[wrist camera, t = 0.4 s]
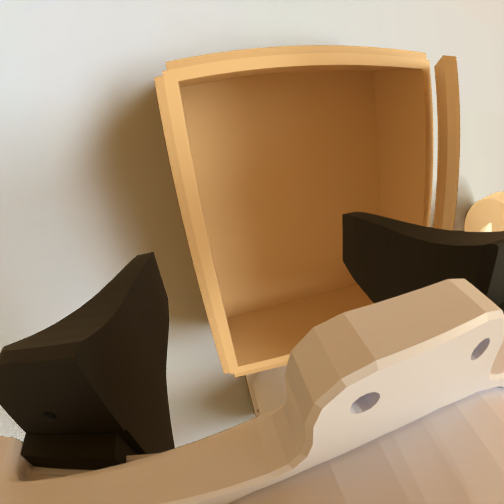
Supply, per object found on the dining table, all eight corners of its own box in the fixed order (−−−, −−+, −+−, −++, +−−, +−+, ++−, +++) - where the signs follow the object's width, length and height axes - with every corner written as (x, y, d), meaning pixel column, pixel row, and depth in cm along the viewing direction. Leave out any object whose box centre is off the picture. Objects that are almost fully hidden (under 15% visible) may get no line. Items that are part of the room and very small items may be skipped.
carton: (376, 283, 27) (413, 323, 22) (215, 324, 26) (225, 379, 20) (373, 58, 18) (428, 53, 13) (161, 76, 17) (152, 65, 12)
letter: (464, 333, 35) (508, 381, 26) (453, 341, 35) (496, 391, 26) (477, 178, 25) (557, 217, 16) (463, 184, 25) (545, 226, 16)
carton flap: (418, 317, 21) (424, 318, 21) (405, 390, 16) (412, 391, 16) (434, 66, 13) (442, 67, 13) (443, 55, 8) (456, 56, 8)
